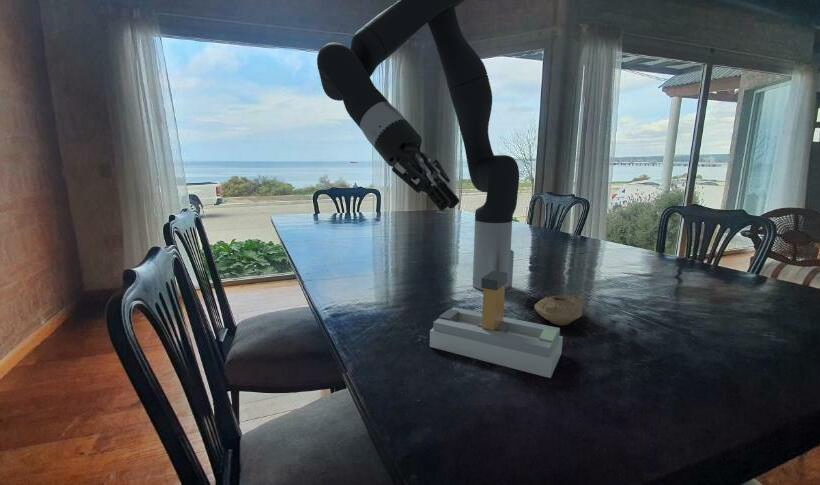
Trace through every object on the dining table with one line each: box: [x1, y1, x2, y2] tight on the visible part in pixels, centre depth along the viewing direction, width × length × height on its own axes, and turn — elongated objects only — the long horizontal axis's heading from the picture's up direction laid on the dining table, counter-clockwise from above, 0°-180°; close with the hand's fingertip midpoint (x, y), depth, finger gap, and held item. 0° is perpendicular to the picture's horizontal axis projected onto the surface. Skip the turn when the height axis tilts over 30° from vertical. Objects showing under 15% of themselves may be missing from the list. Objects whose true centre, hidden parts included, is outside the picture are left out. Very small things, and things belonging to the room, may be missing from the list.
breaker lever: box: [478, 271, 508, 333], centre depth 65 cm, size 4×5×10 cm
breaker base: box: [429, 306, 564, 379], centre depth 66 cm, size 20×9×5 cm, turn 60°
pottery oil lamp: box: [534, 294, 586, 327], centre depth 79 cm, size 9×12×7 cm
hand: (450, 205), depth 66 cm, fingers open, 3 cm apart
